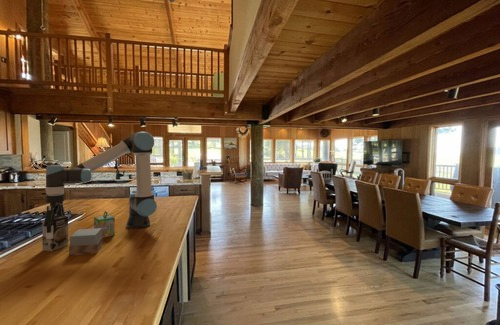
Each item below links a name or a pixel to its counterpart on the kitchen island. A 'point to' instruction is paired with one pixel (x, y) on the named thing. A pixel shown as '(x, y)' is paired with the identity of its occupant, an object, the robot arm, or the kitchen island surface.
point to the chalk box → (105, 224)
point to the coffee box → (56, 234)
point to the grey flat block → (85, 237)
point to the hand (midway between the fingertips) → (55, 234)
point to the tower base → (85, 249)
